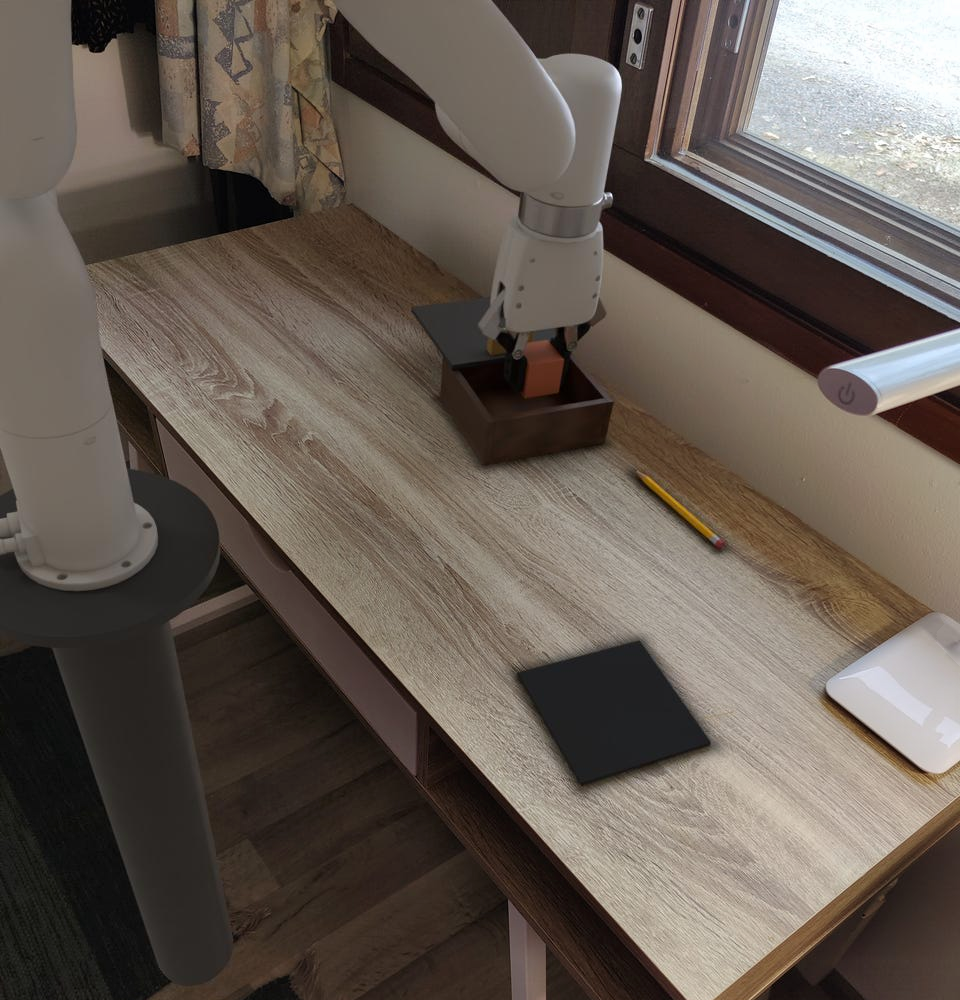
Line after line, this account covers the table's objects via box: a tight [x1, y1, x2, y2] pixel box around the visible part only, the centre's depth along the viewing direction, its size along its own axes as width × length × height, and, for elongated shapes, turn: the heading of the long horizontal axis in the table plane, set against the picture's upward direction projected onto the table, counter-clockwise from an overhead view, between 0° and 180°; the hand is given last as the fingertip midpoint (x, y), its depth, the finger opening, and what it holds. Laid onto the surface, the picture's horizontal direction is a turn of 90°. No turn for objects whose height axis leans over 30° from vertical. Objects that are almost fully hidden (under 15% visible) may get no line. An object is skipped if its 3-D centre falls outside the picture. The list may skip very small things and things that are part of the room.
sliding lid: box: [410, 296, 574, 370], centre depth 111 cm, size 15×13×3 cm
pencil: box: [635, 470, 725, 549], centre depth 101 cm, size 1×13×1 cm, turn 34°
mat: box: [516, 640, 712, 786], centre depth 82 cm, size 12×12×1 cm
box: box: [439, 352, 615, 466], centre depth 108 cm, size 15×13×5 cm
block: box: [520, 340, 564, 398], centre depth 103 cm, size 4×4×4 cm
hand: (534, 380), depth 104 cm, fingers closed on block, 4 cm apart
